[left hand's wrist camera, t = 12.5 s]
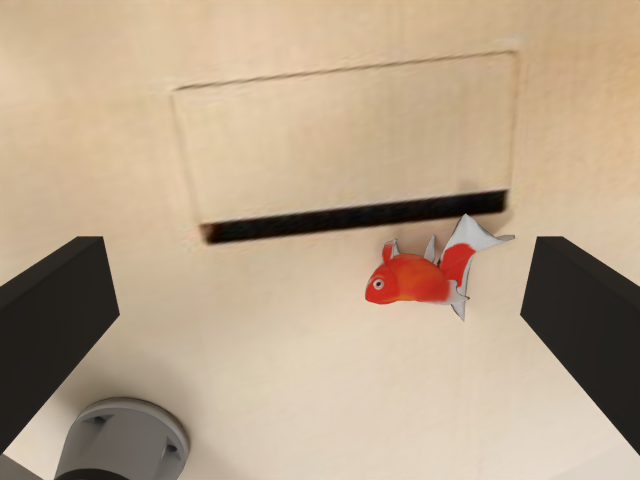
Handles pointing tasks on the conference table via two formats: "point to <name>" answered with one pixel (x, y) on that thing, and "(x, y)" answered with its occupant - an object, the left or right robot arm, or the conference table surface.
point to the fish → (431, 269)
